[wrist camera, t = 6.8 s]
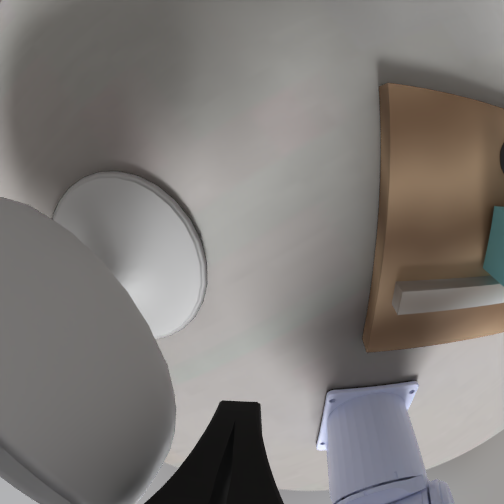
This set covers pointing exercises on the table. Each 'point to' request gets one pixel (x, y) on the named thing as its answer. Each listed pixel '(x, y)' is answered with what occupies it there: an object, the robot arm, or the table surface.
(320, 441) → the robot arm
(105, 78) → the table surface
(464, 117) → the board
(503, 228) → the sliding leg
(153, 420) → the chalice
